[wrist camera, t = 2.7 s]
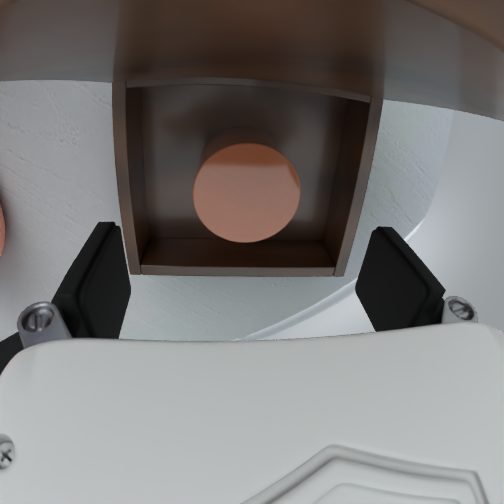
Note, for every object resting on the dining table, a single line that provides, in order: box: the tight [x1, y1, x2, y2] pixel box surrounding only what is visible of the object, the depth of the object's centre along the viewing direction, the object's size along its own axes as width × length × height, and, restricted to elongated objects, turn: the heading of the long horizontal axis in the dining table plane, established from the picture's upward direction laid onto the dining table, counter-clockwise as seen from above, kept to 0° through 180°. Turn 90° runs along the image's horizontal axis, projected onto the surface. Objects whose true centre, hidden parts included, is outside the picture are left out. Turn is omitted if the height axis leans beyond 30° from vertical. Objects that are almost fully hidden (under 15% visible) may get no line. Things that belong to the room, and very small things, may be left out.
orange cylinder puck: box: [192, 126, 301, 242], centre depth 18 cm, size 6×6×5 cm
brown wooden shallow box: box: [112, 77, 383, 277], centre depth 19 cm, size 13×15×4 cm
